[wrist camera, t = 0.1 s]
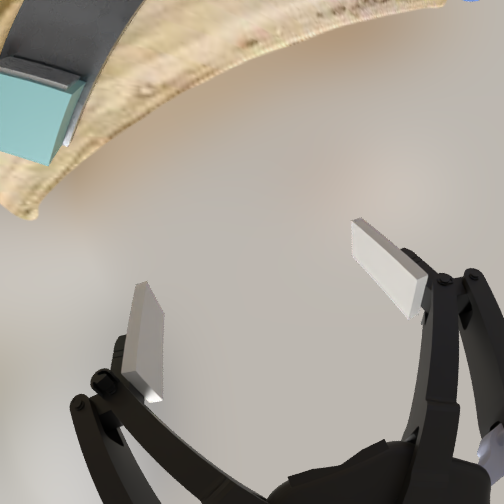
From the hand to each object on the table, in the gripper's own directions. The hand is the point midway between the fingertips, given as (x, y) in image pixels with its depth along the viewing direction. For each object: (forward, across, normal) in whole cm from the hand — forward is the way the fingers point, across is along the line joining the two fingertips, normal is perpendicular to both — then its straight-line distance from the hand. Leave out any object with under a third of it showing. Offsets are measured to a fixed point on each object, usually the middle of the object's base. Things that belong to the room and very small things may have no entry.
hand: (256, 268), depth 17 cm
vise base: (+20, -14, +26) cm, 36 cm away
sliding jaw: (+20, -21, +20) cm, 35 cm away
